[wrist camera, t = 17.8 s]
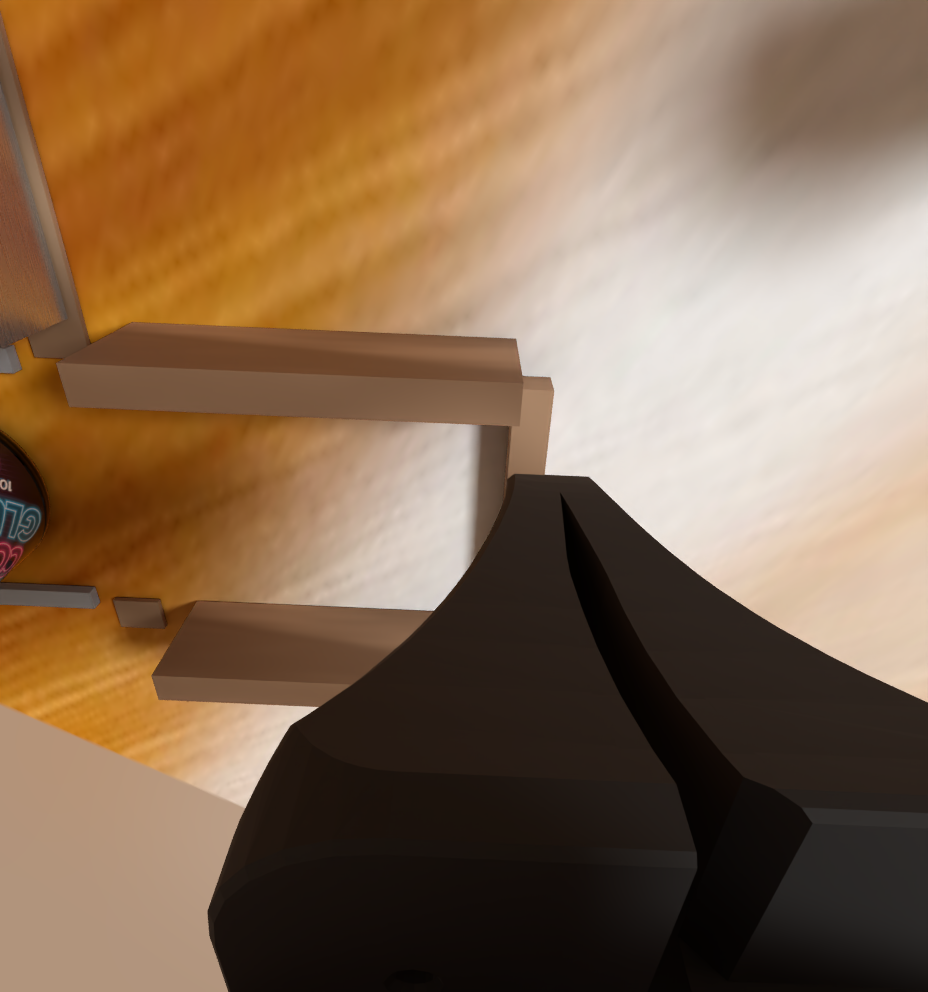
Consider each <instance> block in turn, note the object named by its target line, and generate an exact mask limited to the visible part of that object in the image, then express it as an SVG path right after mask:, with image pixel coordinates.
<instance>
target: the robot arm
mask: <svg viewBox="0 0 928 992" xmlns="http://www.w3.org/2000/svg"><path fill="white" fill-rule="evenodd" d="M208 923H209V936H210V939H211V942H212V945H213V948H214V950H215V953H216V956H217V959H218V962H219V965H220V968H221V971H222V974H223V977H224V979H225V983H226V986H227V989H228V992H928V703H927V702H925V701H923V700H921V699H919V698H916V697H914V696H912V695H910V694H908V693H906V692H903V691H901V690H899V689H897V688H895V687H893V686H890V685H888V684H886V683H884V682H882V681H880V680H877V679H875V678H873V677H871V676H869V675H867V674H865V673H863V672H861V671H859V670H857V669H855V668H853V667H851V666H849V665H847V664H845V663H843V662H841V661H839V660H837V659H835V658H833V657H831V656H829V655H827V654H825V653H823V652H821V651H820V650H818V649H816V648H814V647H812V646H811V645H809V644H807V643H805V642H803V641H802V640H800V639H798V638H796V637H794V636H793V635H791V634H789V633H787V632H785V631H784V630H782V629H780V628H778V627H777V626H775V625H773V624H772V623H770V622H768V621H767V620H765V619H763V618H762V617H760V616H758V615H757V614H755V613H754V612H752V611H751V610H749V609H748V608H746V607H745V606H743V605H742V604H740V603H739V602H737V601H736V600H734V599H733V598H731V597H730V596H728V595H727V594H725V593H724V592H722V591H721V590H719V589H718V588H716V587H715V586H713V585H712V584H711V583H709V582H708V581H706V580H705V579H704V578H702V577H701V576H700V575H698V574H697V573H696V572H695V571H693V570H692V569H691V568H690V567H688V566H687V565H686V564H684V563H683V562H682V561H681V560H679V559H678V558H677V557H676V556H674V555H673V554H672V553H671V552H669V551H668V550H667V549H666V548H665V547H664V546H662V545H661V544H660V543H659V542H658V541H657V540H655V539H654V538H653V537H652V536H651V535H650V534H649V533H647V532H646V531H645V530H644V529H643V528H642V527H641V526H640V525H639V524H638V523H637V522H635V521H634V520H633V519H632V518H631V517H630V516H629V515H628V514H627V513H626V512H625V511H624V510H623V509H622V508H621V507H620V506H619V505H618V504H617V503H616V502H615V501H613V500H612V499H611V498H610V497H609V496H608V495H607V494H606V493H605V492H604V491H603V490H602V489H601V488H600V487H599V486H598V485H597V484H596V483H595V482H594V481H593V480H592V479H590V478H589V477H581V476H559V475H536V474H513V475H512V476H511V477H509V478H508V479H507V484H506V496H505V499H504V502H503V505H502V508H501V510H500V513H499V515H498V517H497V519H496V521H495V523H494V525H493V527H492V530H491V532H490V534H489V536H488V537H487V539H486V541H485V542H484V544H483V546H482V547H481V549H480V551H479V552H478V554H477V556H476V557H475V559H474V560H473V562H472V564H471V565H470V567H469V568H468V569H467V571H466V572H465V574H464V575H463V577H462V578H461V579H460V581H459V582H458V583H457V585H456V586H455V587H454V588H453V590H452V591H451V592H450V593H449V594H448V596H447V597H446V598H445V599H444V601H443V602H442V603H441V604H440V605H439V606H438V607H437V608H436V609H435V610H434V612H433V613H432V614H431V615H430V616H429V617H428V618H427V619H426V620H425V621H424V622H423V623H422V624H421V625H420V626H419V627H418V628H417V629H416V630H415V631H414V632H413V633H412V634H411V635H410V636H409V637H408V638H407V639H406V640H405V641H404V642H403V643H402V644H400V645H399V646H398V647H397V648H396V649H394V650H393V651H392V652H391V653H390V654H389V655H387V656H386V657H385V658H384V659H383V660H382V661H380V662H379V663H378V664H377V665H376V666H375V667H373V668H372V669H371V670H370V671H369V672H367V673H366V674H365V675H364V676H362V677H361V678H360V679H359V680H357V681H356V682H355V683H353V684H352V685H351V686H349V687H348V688H346V689H345V690H343V691H342V692H340V693H339V694H337V695H336V696H335V697H333V698H332V699H330V700H329V701H327V702H326V703H324V704H323V705H321V706H320V707H319V708H317V709H316V710H314V711H313V712H311V713H310V714H308V715H307V716H305V717H303V718H302V719H300V720H299V721H297V722H295V723H294V724H292V725H291V726H290V727H289V729H288V731H287V732H286V734H285V735H284V737H283V739H282V740H281V742H280V744H279V746H278V747H277V749H276V751H275V752H274V754H273V756H272V758H271V759H270V761H269V763H268V765H267V766H266V768H265V770H264V772H263V774H262V776H261V778H260V780H259V782H258V784H257V786H256V788H255V790H254V792H253V794H252V796H251V798H250V800H249V802H248V804H247V806H246V808H245V811H244V813H243V815H242V817H241V819H240V821H239V824H238V826H237V829H236V831H235V834H234V836H233V839H232V842H231V845H230V848H229V851H228V854H227V856H226V859H225V862H224V865H223V868H222V871H221V874H220V877H219V880H218V883H217V886H216V888H215V891H214V894H213V897H212V900H211V903H210V906H209V909H208Z"/></svg>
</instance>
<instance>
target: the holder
mask: <svg viewBox="0 0 928 992" xmlns="http://www.w3.org/2000/svg"><path fill="white" fill-rule="evenodd" d="M0 82H1V85H2V89H3V92H4V96H5V99H6V103H7V106H8V110H9V113H10V117H11V120H12V124H13V127H14V131H15V134H16V138H17V141H18V145H19V148H20V152H21V155H22V159H23V162H24V166H25V169H26V173H27V176H28V180H29V184H30V187H31V191H32V194H33V198H34V201H35V205H36V208H37V212H38V215H39V219H40V222H41V226H42V229H43V233H44V236H45V240H46V243H47V247H48V250H49V254H50V257H51V261H52V264H53V268H54V271H55V275H56V278H57V282H58V285H59V289H60V292H61V296H62V299H63V303H64V306H65V310H66V313H67V317H68V319H66V320H63V321H61V322H59V323H57V324H54V325H52V326H50V327H48V328H45V329H43V330H41V331H39V332H36V333H34V334H32V335H30V336H28V338H29V341H30V344H31V347H32V350H33V353H34V356H35V357H43V358H64V359H63V360H61V361H59V362H57V363H56V365H57V368H58V372H59V375H60V378H61V381H62V385H63V388H64V391H65V394H66V398H67V401H68V404H69V407H84V408H107V409H130V410H153V411H176V412H199V413H222V414H245V415H268V416H290V417H313V418H336V419H359V420H382V421H405V422H428V423H451V424H474V425H497V426H509V433H508V446H507V458H506V471H505V483H504V496H503V502H504V499H505V496H506V484H507V479H508V478H509V477H511V476H512V475H513V474H536V475H544V474H545V465H546V457H547V448H548V439H549V431H550V422H551V414H552V405H553V396H554V388H553V385H552V381H551V378H550V377H528V376H522V371H521V365H520V359H519V354H518V348H517V342H516V339H507V338H484V337H461V336H438V335H415V334H392V333H369V332H346V331H323V330H299V329H276V328H253V327H230V326H207V325H184V324H161V323H138V322H132V323H130V324H128V325H126V326H124V327H122V328H120V329H119V330H117V331H115V332H113V333H111V334H109V335H107V336H105V337H104V338H102V339H100V340H98V341H96V342H94V343H92V344H90V340H89V336H88V333H87V329H86V325H85V322H84V318H83V314H82V311H81V307H80V303H79V300H78V296H77V292H76V288H75V285H74V281H73V277H72V274H71V270H70V266H69V263H68V259H67V255H66V252H65V248H64V244H63V241H62V237H61V233H60V230H59V226H58V222H57V219H56V215H55V211H54V208H53V204H52V200H51V197H50V193H49V189H48V186H47V182H46V178H45V174H44V171H43V167H42V163H41V160H40V156H39V152H38V149H37V145H36V141H35V138H34V134H33V130H32V127H31V123H30V119H29V116H28V112H27V108H26V105H25V101H24V97H23V94H22V90H21V86H20V83H19V79H18V75H17V72H16V68H15V64H14V61H13V57H12V53H11V49H10V46H9V42H8V38H7V35H6V31H5V27H4V24H3V20H2V16H1V13H0ZM113 602H114V605H115V608H116V611H117V614H118V618H119V621H120V624H121V627H136V628H159V629H165V628H166V626H167V623H166V619H165V616H164V612H163V608H162V605H161V601H160V599H144V598H121V597H115V599H114V600H113ZM433 612H434V611H414V610H391V609H369V608H346V607H324V606H301V605H279V604H256V603H234V602H211V601H197V602H196V603H195V605H194V607H193V608H192V610H191V612H190V613H189V615H188V617H187V618H186V620H185V621H184V623H183V625H182V626H181V628H180V630H179V631H178V633H177V635H176V636H175V638H174V639H173V641H172V643H171V644H170V646H169V648H168V649H167V651H166V653H165V654H164V656H163V658H162V659H161V661H160V662H159V664H158V666H157V667H156V669H155V671H154V672H153V674H152V679H153V682H154V686H155V689H156V692H157V696H158V699H159V700H177V701H199V702H221V703H244V704H266V705H288V706H310V707H320V706H321V705H323V704H324V703H326V702H327V701H329V700H330V699H332V698H333V697H335V696H336V695H337V694H339V693H340V692H342V691H343V690H345V689H346V688H348V687H349V686H351V685H352V684H353V683H355V682H356V681H357V680H359V679H360V678H361V677H362V676H364V675H365V674H366V673H367V672H369V671H370V670H371V669H372V668H373V667H375V666H376V665H377V664H378V663H379V662H380V661H382V660H383V659H384V658H385V657H386V656H387V655H389V654H390V653H391V652H392V651H393V650H394V649H396V648H397V647H398V646H399V645H400V644H402V643H403V642H404V641H405V640H406V639H407V638H408V637H409V636H410V635H411V634H412V633H413V632H414V631H415V630H416V629H417V628H418V627H419V626H420V625H421V624H422V623H423V622H424V621H425V620H426V619H427V618H428V617H429V616H430V615H431V614H432V613H433Z"/></svg>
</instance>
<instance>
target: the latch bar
mask: <svg viewBox="0 0 928 992" xmlns="http://www.w3.org/2000/svg"><path fill="white" fill-rule="evenodd" d="M66 319H68V317H67V313H66V310H65V306H64V303H63V299H62V296H61V292H60V289H59V285H58V282H57V278H56V275H55V271H54V268H53V264H52V261H51V257H50V254H49V250H48V247H47V243H46V240H45V236H44V233H43V229H42V226H41V222H40V219H39V215H38V212H37V208H36V205H35V201H34V198H33V194H32V191H31V187H30V184H29V180H28V176H27V173H26V169H25V166H24V162H23V159H22V155H21V152H20V148H19V145H18V141H17V138H16V134H15V131H14V127H13V124H12V120H11V117H10V113H9V110H8V106H7V103H6V99H5V96H4V92H3V89H2V85H1V82H0V348H3V347H5V346H7V345H9V344H12V343H14V342H16V341H18V340H21V339H23V338H25V337H27V336H30V335H32V334H34V333H36V332H39V331H41V330H43V329H45V328H48V327H50V326H52V325H54V324H57V323H59V322H61V321H63V320H66Z"/></svg>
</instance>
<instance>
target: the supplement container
mask: <svg viewBox="0 0 928 992" xmlns="http://www.w3.org/2000/svg"><path fill="white" fill-rule="evenodd" d="M49 519H50V501H49V495H48V491H47V488H46V485H45V483H44V480H43V478H42V476H41V474H40V472H39V470H38V469H37V467H36V465H35V464H34V462H33V461H32V460H31V458H30V457H29V456H28V455H27V453H26V452H25V451H24V450H23V449H22V448H21V447H20V446H19V445H18V444H17V443H16V442H15V441H14V440H13V439H12V438H11V437H9V436H8V435H7V434H6V433H4V432H3V431H2V430H0V581H2V580H3V579H4V578H5V577H6V576H7V575H8V574H9V573H10V572H11V571H12V570H13V569H14V568H16V567H17V566H18V565H19V564H20V563H21V562H22V561H23V560H24V559H25V558H26V557H27V556H28V555H30V554H31V553H32V552H33V551H34V550H35V549H36V548H37V547H38V546H39V544H40V543H41V541H42V540H43V538H44V536H45V533H46V530H47V527H48V524H49Z"/></svg>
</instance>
